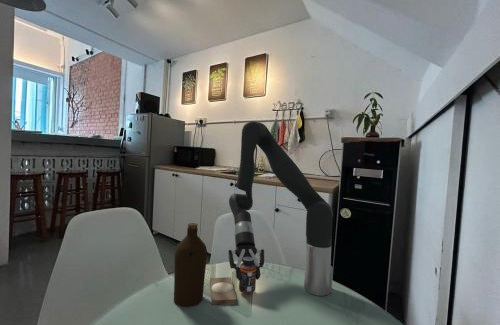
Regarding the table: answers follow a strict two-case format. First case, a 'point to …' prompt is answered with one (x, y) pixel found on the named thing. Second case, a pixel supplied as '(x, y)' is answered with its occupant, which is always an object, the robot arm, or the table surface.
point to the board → (222, 291)
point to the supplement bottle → (247, 276)
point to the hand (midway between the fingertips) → (248, 279)
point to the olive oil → (189, 269)
